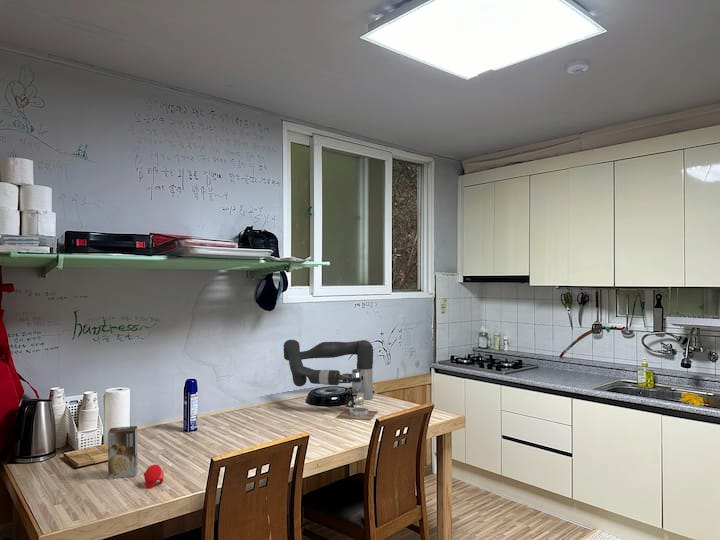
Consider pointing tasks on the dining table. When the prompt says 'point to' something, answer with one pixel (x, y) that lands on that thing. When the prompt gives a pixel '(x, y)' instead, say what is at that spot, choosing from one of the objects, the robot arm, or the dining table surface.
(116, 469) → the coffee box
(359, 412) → the ring
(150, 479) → the cap
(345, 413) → the board
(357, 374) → the cylinder
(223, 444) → the dining table surface
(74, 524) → the dining table surface
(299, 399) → the dining table surface
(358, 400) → the valve
